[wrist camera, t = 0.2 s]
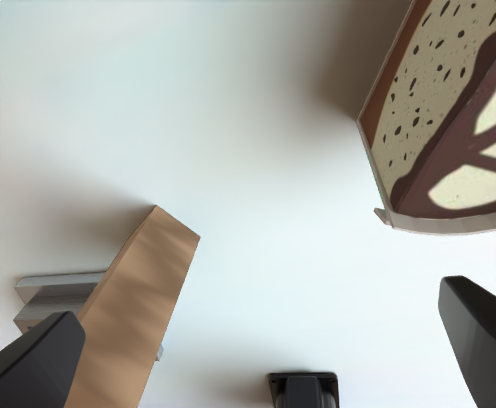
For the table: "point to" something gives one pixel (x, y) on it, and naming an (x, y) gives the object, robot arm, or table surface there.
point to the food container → (436, 120)
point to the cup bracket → (55, 297)
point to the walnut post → (131, 313)
